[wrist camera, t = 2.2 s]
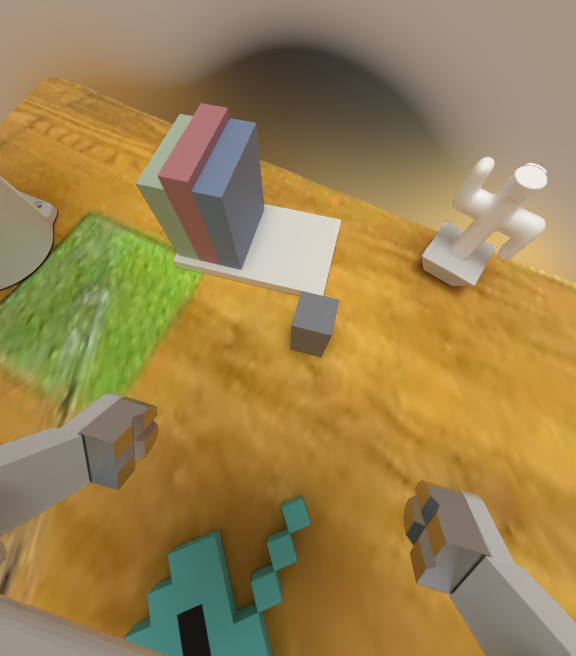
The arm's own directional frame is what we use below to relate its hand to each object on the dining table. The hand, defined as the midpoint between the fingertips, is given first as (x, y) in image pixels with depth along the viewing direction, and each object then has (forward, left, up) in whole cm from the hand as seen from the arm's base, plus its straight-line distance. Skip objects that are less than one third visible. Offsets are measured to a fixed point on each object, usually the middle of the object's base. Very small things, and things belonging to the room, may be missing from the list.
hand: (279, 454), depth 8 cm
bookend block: (-4, +12, -24) cm, 27 cm away
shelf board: (-18, +20, -23) cm, 35 cm away
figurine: (+6, +32, -24) cm, 40 cm away
